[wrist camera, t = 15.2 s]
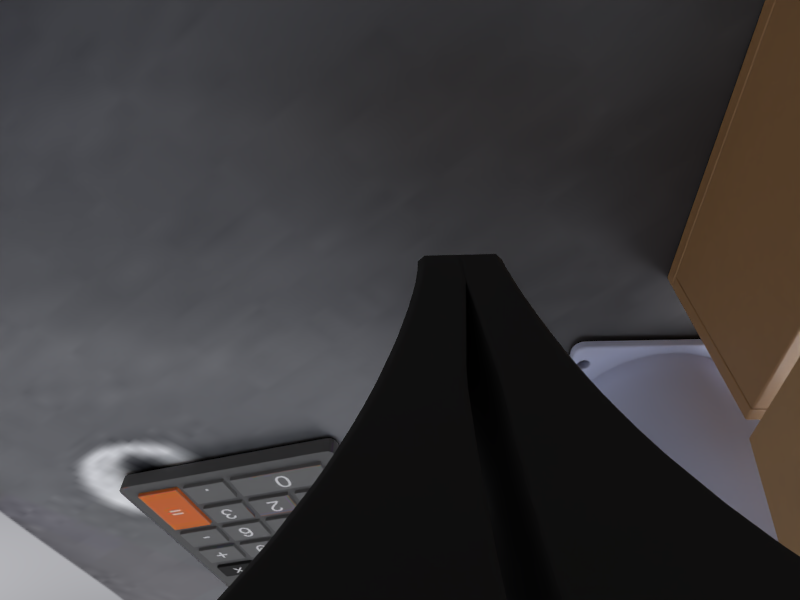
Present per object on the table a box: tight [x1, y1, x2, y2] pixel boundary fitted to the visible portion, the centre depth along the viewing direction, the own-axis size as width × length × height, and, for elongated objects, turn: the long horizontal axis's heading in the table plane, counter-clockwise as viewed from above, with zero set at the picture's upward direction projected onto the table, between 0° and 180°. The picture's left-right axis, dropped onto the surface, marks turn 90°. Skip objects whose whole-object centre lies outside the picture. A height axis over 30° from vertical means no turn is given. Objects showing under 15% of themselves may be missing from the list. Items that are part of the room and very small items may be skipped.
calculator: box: [120, 438, 339, 587], centre depth 33 cm, size 12×1×15 cm
